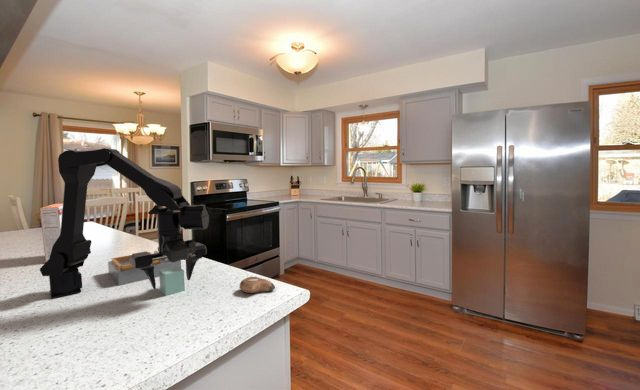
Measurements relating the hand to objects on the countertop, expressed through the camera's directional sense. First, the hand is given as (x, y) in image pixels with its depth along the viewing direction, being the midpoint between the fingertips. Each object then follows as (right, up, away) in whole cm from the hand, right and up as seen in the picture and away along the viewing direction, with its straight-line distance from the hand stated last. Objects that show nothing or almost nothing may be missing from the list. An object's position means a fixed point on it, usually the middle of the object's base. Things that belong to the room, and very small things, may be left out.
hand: (172, 284), depth 88 cm
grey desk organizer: (-17, -1, +16) cm, 23 cm away
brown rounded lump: (+24, -2, 0) cm, 24 cm away
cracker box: (-60, 0, +34) cm, 69 cm away
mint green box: (-1, -2, +1) cm, 2 cm away
